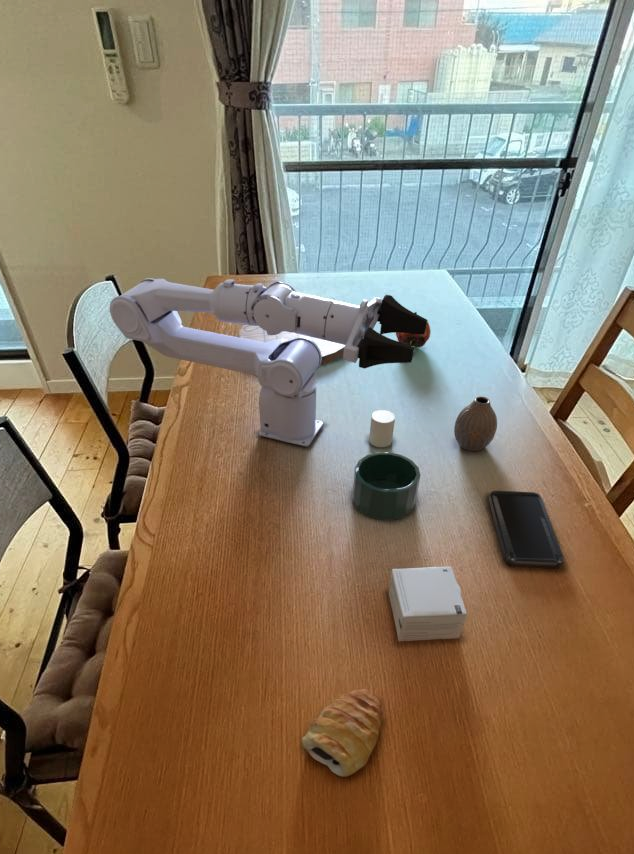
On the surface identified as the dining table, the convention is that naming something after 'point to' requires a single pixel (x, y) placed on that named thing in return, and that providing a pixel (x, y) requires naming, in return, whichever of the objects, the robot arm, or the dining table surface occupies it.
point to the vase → (476, 425)
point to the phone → (524, 530)
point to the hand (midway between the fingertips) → (419, 340)
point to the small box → (426, 603)
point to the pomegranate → (414, 337)
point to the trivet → (327, 348)
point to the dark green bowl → (385, 485)
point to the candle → (381, 428)
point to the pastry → (345, 732)
